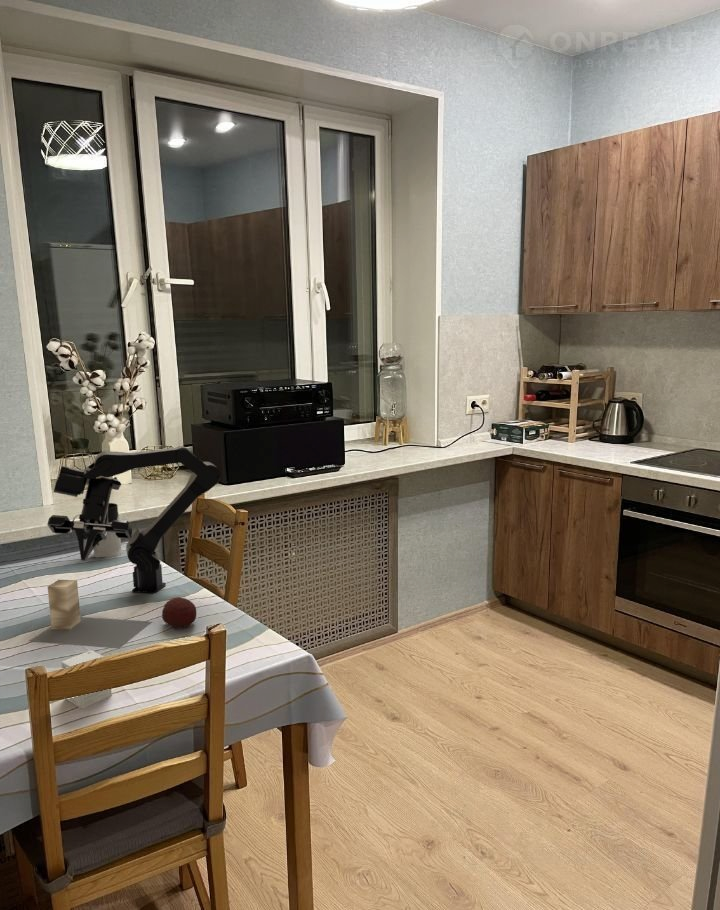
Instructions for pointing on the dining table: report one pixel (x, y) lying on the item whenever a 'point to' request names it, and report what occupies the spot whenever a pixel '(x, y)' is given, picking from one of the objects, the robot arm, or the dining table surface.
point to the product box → (89, 698)
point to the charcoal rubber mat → (94, 633)
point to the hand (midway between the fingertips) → (83, 560)
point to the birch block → (64, 604)
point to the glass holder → (109, 537)
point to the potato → (179, 612)
